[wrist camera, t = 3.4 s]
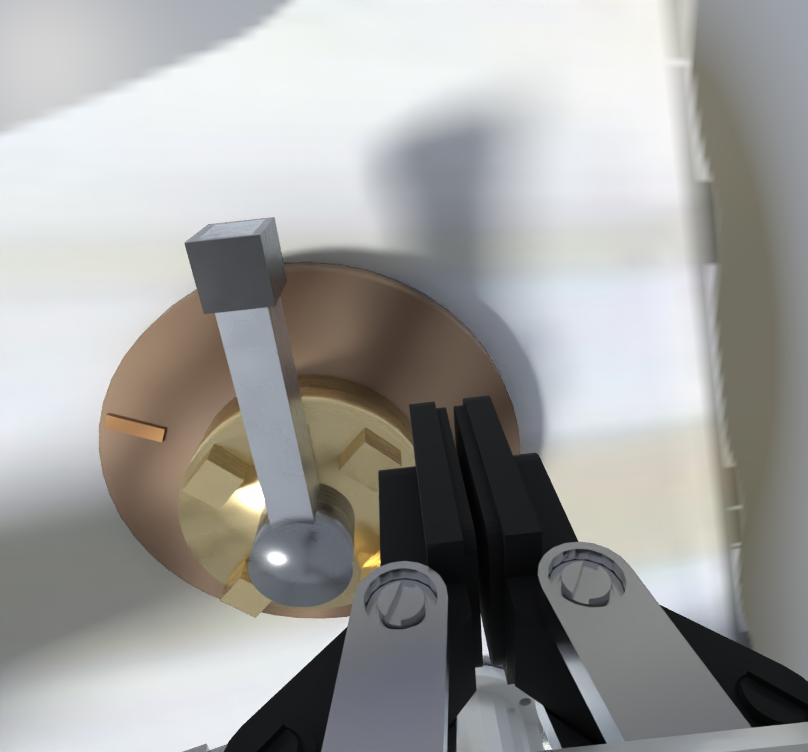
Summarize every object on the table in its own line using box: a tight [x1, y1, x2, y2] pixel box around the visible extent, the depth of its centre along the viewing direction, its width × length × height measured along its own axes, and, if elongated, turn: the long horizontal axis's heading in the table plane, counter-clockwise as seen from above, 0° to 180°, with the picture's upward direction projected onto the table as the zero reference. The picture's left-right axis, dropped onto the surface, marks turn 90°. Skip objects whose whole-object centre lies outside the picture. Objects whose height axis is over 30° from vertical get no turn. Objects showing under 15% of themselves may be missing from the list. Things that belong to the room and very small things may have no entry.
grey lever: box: [178, 217, 415, 618], centre depth 25 cm, size 20×12×7 cm, turn 6°
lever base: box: [99, 262, 520, 618], centre depth 31 cm, size 22×22×2 cm
